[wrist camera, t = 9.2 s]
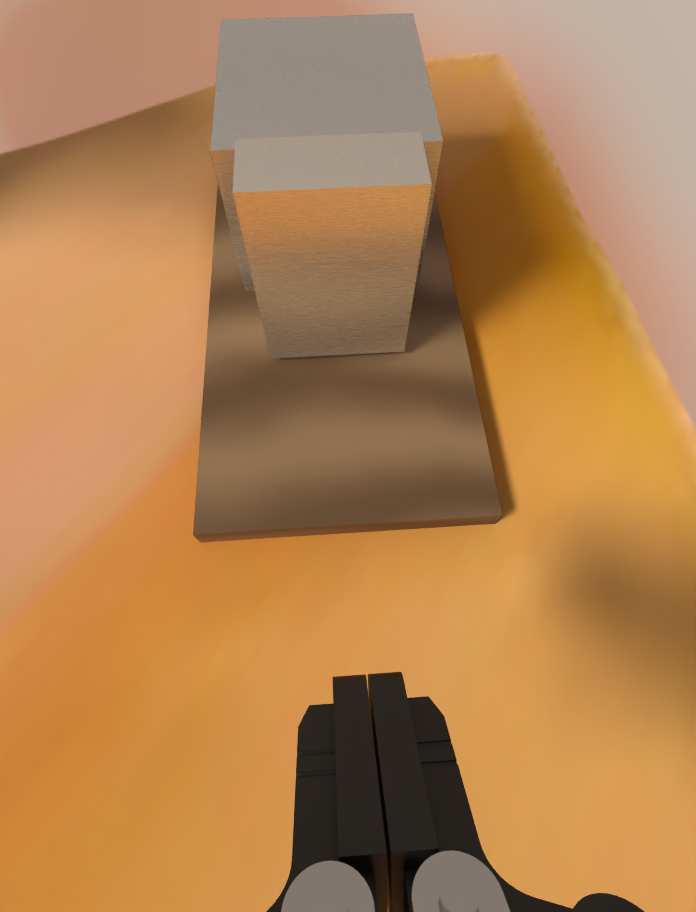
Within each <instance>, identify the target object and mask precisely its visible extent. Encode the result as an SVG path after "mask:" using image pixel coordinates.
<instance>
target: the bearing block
mask: <svg viewBox="0 0 696 912" xmlns="http://www.w3.org/2000/svg"><path fill="white" fill-rule="evenodd" d="M219 41H220V42H219V52H218V64H217V65H218V66H217V76H216V88H215V99H214V111H213V123H212V135H211V147H210V152H211V156H212V160H213V164H214V168H215V172H216V176H217V180H218V184H219V188H220V192H221V196H222V200H223V204H224V208H225V212H226V216H227V220H228V224H229V228H230V232H231V236H232V240H233V244H234V248H235V252H236V256H237V260H238V264H239V268H240V272H241V276H242V280H243V284H244V288H245V291H255V289H254V284H253V280H252V275H251V271H250V267H249V262H248V258H247V253H246V249H245V245H244V240H243V236H242V231H241V227H240V222H239V218H238V214H237V209H236V205H235V200H234V196H233V177H234V157H235V139H247V138H272V137H297V136H322V135H347V134H372V133H397V132H421V135H422V140H423V145H424V149H425V154H426V159H427V164H428V168H429V173H430V178H431V183H432V185H431V191H430V198H429V204H428V210H427V216H426V222H425V228H424V234H423V240H422V247H421V253H420V259H419V265H418V271H417V277H416V283H419V279H420V273H421V268H422V262H423V256H424V250H425V244H426V238H427V233H428V227H429V221H430V215H431V209H432V203H433V198H434V192H435V186H436V180H437V174H438V168H439V163H440V157H441V151H442V145H443V138H442V134H441V130H440V125H439V121H438V117H437V113H436V108H435V104H434V100H433V96H432V92H431V87H430V83H429V79H428V75H427V71H426V66H425V62H424V58H423V54H422V50H421V45H420V41H419V37H418V33H417V29H416V24H415V21H414V16H413V14H385V15H384V14H383V15H382V14H381V15H352V16H323V17H322V16H321V17H293V18H292V17H291V18H262V19H231V20H221V28H220V40H219Z"/></svg>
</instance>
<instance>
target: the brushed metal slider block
mask: <svg viewBox="0 0 696 912" xmlns="http://www.w3.org/2000/svg"><path fill="white" fill-rule="evenodd" d="M431 185H432V183H431V178H430V173H429V168H428V164H427V159H426V154H425V149H424V145H423V140H422V135H421V132H397V133H372V134H347V135H322V136H297V137H272V138H247V139H235V157H234V177H233V196H234V200H235V205H236V209H237V214H238V218H239V222H240V227H241V231H242V236H243V240H244V245H245V249H246V253H247V258H248V262H249V267H250V271H251V275H252V280H253V284H254V289H255V293H256V298H257V302H258V306H259V311H260V315H261V320H262V324H263V328H264V333H265V337H266V342H267V346H268V351H269V355H270V359H273V358H292V357H311V356H329V355H348V354H367V353H386V352H404V351H405V344H406V338H407V332H408V326H409V320H410V314H411V308H412V302H413V296H414V289H415V283H416V277H417V271H418V265H419V259H420V253H421V247H422V240H423V234H424V228H425V222H426V216H427V210H428V204H429V198H430V191H431Z"/></svg>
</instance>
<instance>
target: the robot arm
mask: <svg viewBox="0 0 696 912" xmlns="http://www.w3.org/2000/svg"><path fill="white" fill-rule="evenodd" d="M368 694H369V698H368ZM333 700H334V704H322V705H309V707H308V709H307V711H306V713H305V715H304V717H303V719H302V721H301V723H300V725H299V727H298V745H297V767H296V788H295V809H294V831H293V852H292V865H291V870H290V874H289V878H288V880H287V883H286V885H285V887H284V889H283V891H282V893H281V895H280V896H279V898H278V899H277V900H276V902H275V903H274V904H273V905H272V906H271V907H270V909H269V910H268V911H267V912H388V911H389V912H644V911H643V910H641V909H640V908H639V907H637V906H636V905H634V904H633V903H631V902H629V901H627V900H625V899H623V898H621V897H618V896H615V895H611V894H605V893H597V894H591V895H588V896H586V897H584V898H582V899H581V900H580V901H578V903H577V904H576V905H575V906H574V908H573V909H571V908H568V907H565V906H561V905H558V904H555V903H551V902H548V901H544V900H541V899H538V898H534V897H532V896H529V895H526V894H524V893H522V892H520V891H519V890H517V889H515V888H514V887H512V886H511V885H509V884H508V883H507V882H506V881H505V880H504V879H502V878H501V877H500V876H499V875H498V873H497V872H496V871H495V870H494V869H493V867H492V866H491V865H490V863H489V862H488V860H487V858H486V856H485V854H484V852H483V850H482V847H481V844H480V841H479V838H478V834H477V831H476V827H475V824H474V820H473V817H472V813H471V810H470V806H469V802H468V799H467V795H466V792H465V788H464V785H463V781H462V778H461V774H460V771H459V767H458V765H457V762H456V757H455V753H454V750H453V746H452V745H451V739H450V736H449V732H448V728H447V725H446V721H445V718H444V715H443V714H442V713H441V712H440V710H439V709H438V708H437V707H436V705H435V704H434V703H433V702H432V700H431V699H430V698H429V697H415V698H407V695H406V690H405V685H404V680H403V676H402V673H401V672H392V673H378V674H368V689H367V681H366V675H352V676H338V677H333Z"/></svg>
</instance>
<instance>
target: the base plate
mask: <svg viewBox="0 0 696 912" xmlns="http://www.w3.org/2000/svg"><path fill="white" fill-rule="evenodd" d="M501 516H502V511H501V506H500V501H499V496H498V492H497V487H496V482H495V477H494V473H493V468H492V463H491V458H490V454H489V449H488V444H487V439H486V435H485V430H484V425H483V420H482V416H481V411H480V406H479V401H478V397H477V392H476V387H475V382H474V378H473V373H472V368H471V363H470V359H469V354H468V349H467V344H466V340H465V335H464V330H463V325H462V321H461V316H460V311H459V306H458V302H457V297H456V292H455V287H454V283H453V278H452V273H451V268H450V264H449V259H448V254H447V249H446V245H445V240H444V235H443V230H442V226H441V221H440V216H439V211H438V207H437V202H436V197H435V192H434V198H433V203H432V209H431V215H430V221H429V227H428V233H427V238H426V244H425V250H424V256H423V262H422V268H421V273H420V279H419V283H415V289H414V296H413V302H412V308H411V314H410V320H409V326H408V332H407V338H406V344H405V351H404V352H386V353H367V354H348V355H329V356H311V357H292V358H273V359H270V355H269V351H268V346H267V342H266V337H265V333H264V328H263V324H262V320H261V315H260V311H259V306H258V302H257V298H256V293H255V291H245V288H244V284H243V280H242V276H241V272H240V268H239V264H238V260H237V256H236V252H235V248H234V244H233V240H232V236H231V232H230V228H229V224H228V220H227V216H226V212H225V208H224V204H223V200H222V196H221V192H220V188H219V184H218V191H217V205H216V219H215V233H214V248H213V262H212V276H211V290H210V304H209V318H208V332H207V347H206V361H205V375H204V389H203V403H202V417H201V432H200V446H199V460H198V474H197V488H196V502H195V516H194V531H193V535H194V536H195V537H196V538H197V539H198V540H199V541H200V542H212V541H228V540H244V539H260V538H275V537H291V536H307V535H322V534H338V533H354V532H370V531H385V530H401V529H417V528H433V527H448V526H464V525H480V524H495V523H496V522H497V521H498V520H499V519H500V518H501Z"/></svg>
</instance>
